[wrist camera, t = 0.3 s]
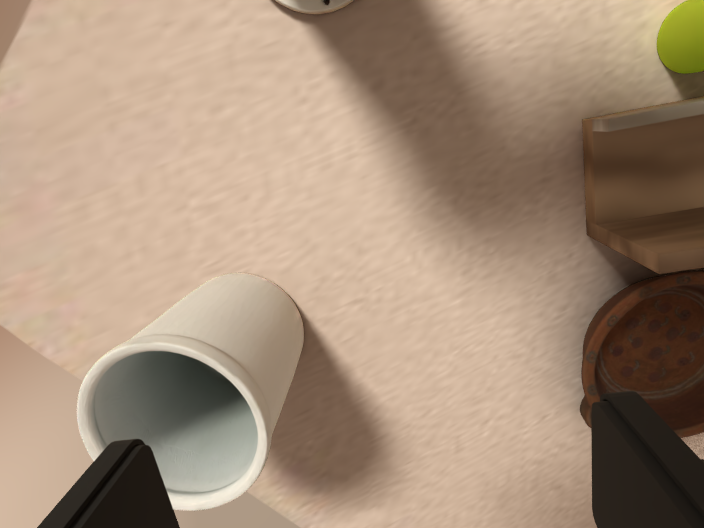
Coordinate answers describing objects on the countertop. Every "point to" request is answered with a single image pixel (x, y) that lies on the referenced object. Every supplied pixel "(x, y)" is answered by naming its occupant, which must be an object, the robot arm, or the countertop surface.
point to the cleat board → (648, 184)
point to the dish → (651, 349)
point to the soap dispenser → (683, 38)
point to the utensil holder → (200, 388)
